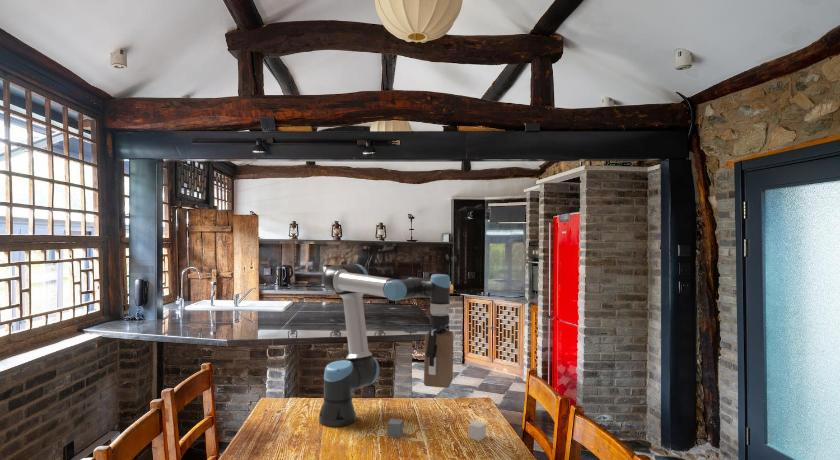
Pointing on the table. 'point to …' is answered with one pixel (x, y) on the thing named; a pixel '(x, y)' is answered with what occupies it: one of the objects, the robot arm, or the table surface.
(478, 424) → the white cube
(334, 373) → the robot arm
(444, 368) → the block
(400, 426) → the slate cube
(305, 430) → the table surface
